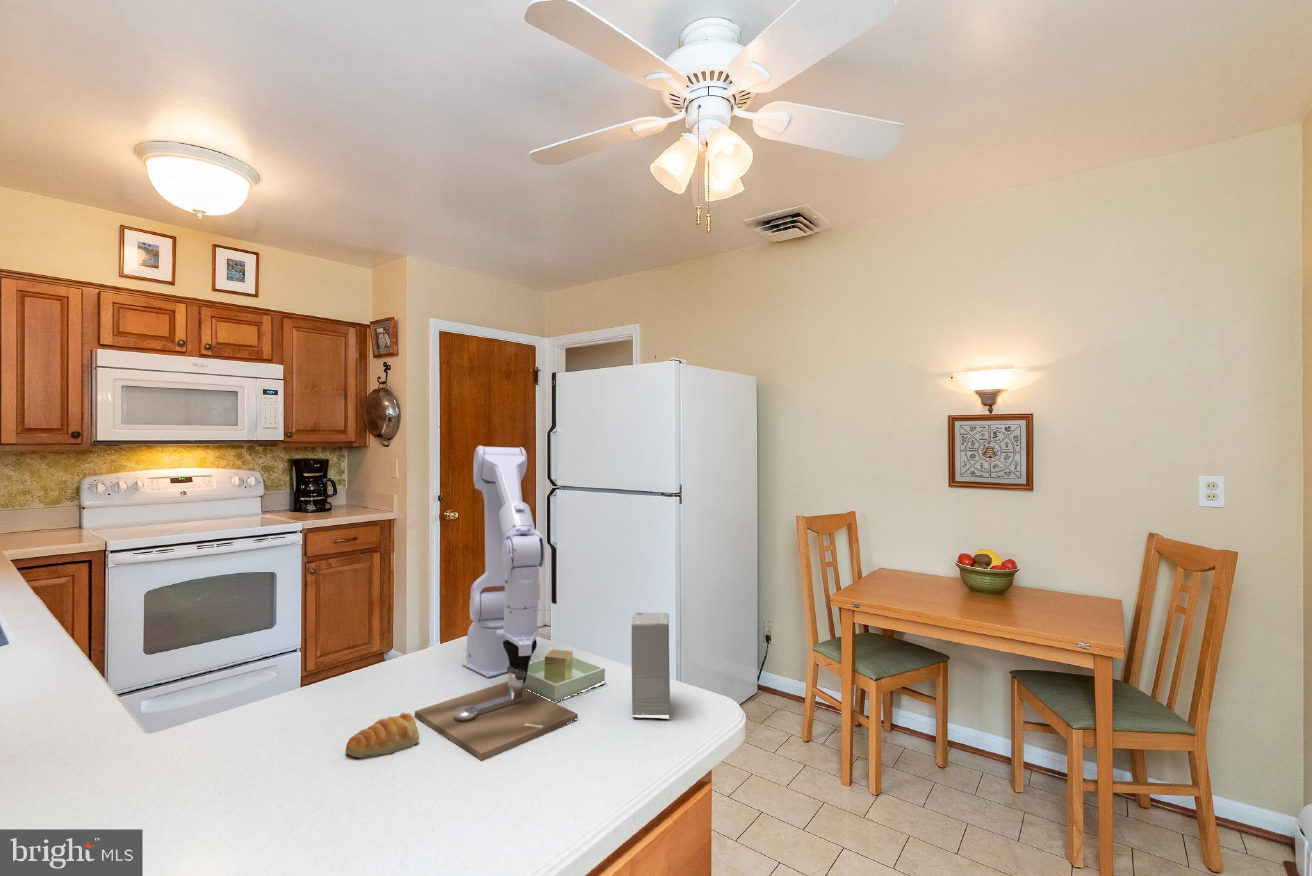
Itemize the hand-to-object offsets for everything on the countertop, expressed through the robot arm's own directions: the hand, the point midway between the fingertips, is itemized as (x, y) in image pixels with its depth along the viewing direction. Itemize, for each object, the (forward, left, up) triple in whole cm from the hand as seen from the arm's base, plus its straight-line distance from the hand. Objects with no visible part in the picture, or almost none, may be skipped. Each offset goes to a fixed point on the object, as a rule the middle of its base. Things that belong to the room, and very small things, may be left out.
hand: (518, 682), depth 104 cm
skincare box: (+18, +14, -4) cm, 23 cm away
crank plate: (+3, -6, -3) cm, 8 cm away
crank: (+1, -7, -2) cm, 7 cm away
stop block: (-1, +10, -3) cm, 10 cm away
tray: (-1, +10, -3) cm, 11 cm away
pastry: (-1, -22, -4) cm, 23 cm away
